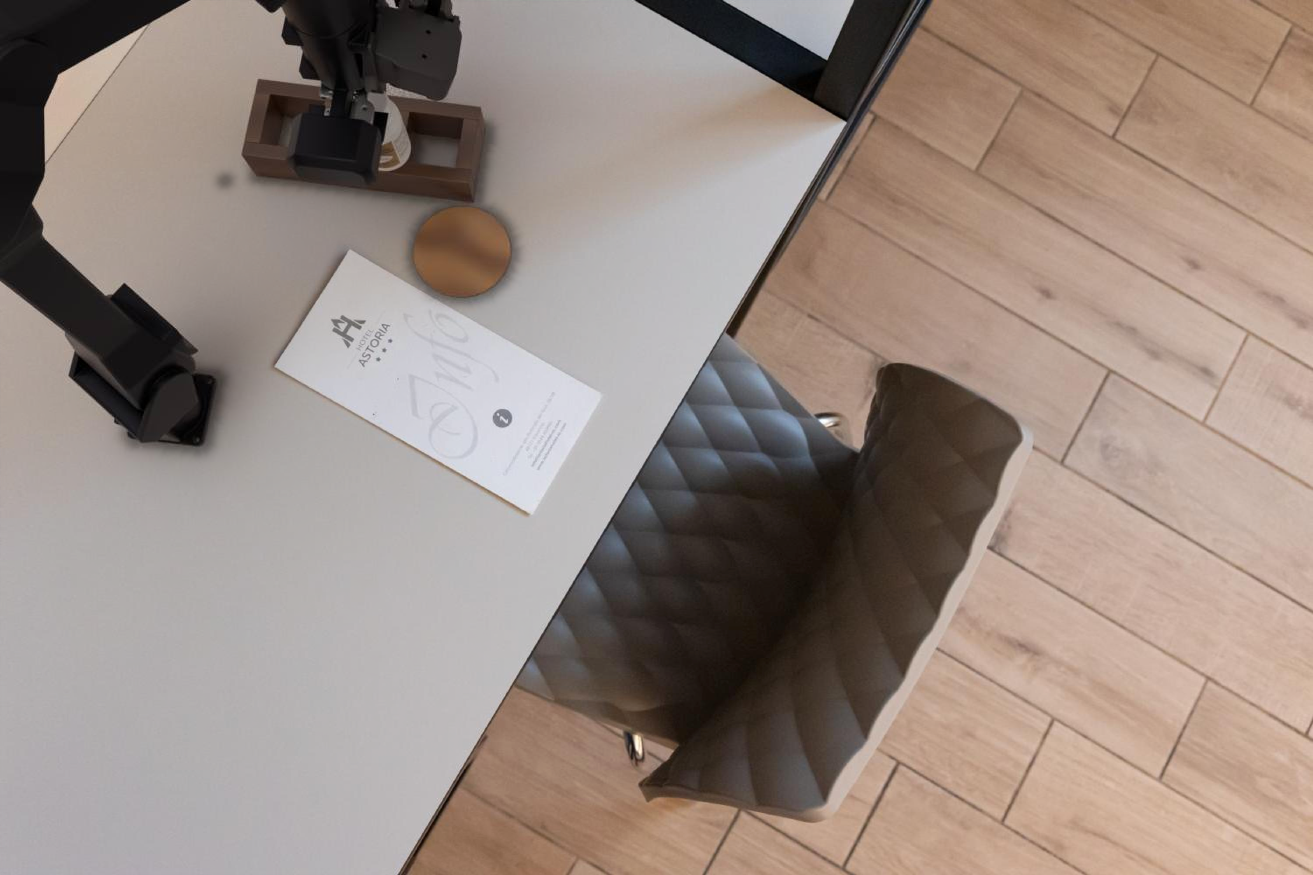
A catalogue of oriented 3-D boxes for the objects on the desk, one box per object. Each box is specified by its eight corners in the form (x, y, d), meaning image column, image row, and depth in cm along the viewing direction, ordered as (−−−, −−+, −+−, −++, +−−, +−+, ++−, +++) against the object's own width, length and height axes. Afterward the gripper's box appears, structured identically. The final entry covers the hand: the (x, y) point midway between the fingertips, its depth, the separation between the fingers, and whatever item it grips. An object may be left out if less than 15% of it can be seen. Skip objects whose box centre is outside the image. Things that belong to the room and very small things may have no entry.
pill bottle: (354, 164, 86) (330, 117, 78) (371, 121, 87) (350, 70, 79) (401, 179, 86) (383, 132, 78) (418, 135, 87) (401, 85, 79)
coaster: (503, 303, 91) (503, 301, 91) (406, 291, 91) (406, 289, 91) (517, 214, 93) (516, 212, 93) (422, 202, 93) (421, 200, 93)
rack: (473, 203, 93) (468, 183, 89) (255, 176, 93) (240, 155, 89) (485, 129, 95) (480, 106, 91) (272, 102, 94) (257, 78, 90)
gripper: (423, 137, 65) (456, 237, 80) (462, -100, 69) (486, 37, 84) (253, 118, 65) (318, 221, 80) (303, -120, 69) (356, 21, 84)
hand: (375, 123), depth 82 cm, fingers closed on pill bottle, 4 cm apart
